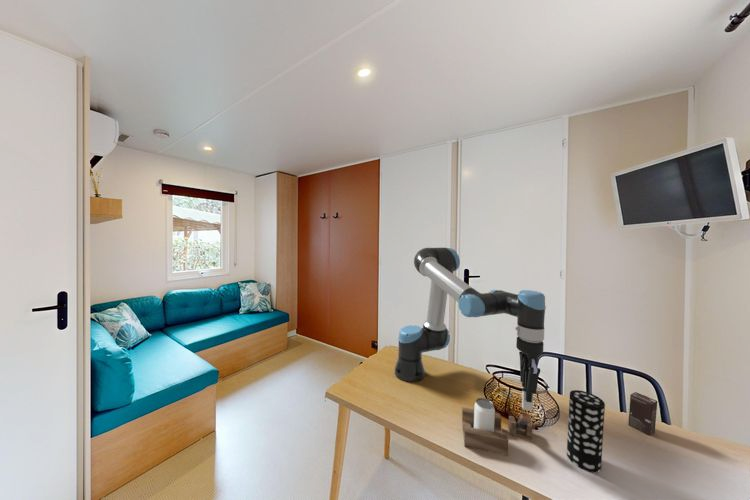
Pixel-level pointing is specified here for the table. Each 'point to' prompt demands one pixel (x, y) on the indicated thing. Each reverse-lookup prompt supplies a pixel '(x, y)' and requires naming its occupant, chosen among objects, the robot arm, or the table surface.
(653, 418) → the box
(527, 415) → the keeper
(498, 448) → the hitch block
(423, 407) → the table surface
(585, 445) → the white-spotted black cylinder
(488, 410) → the can
